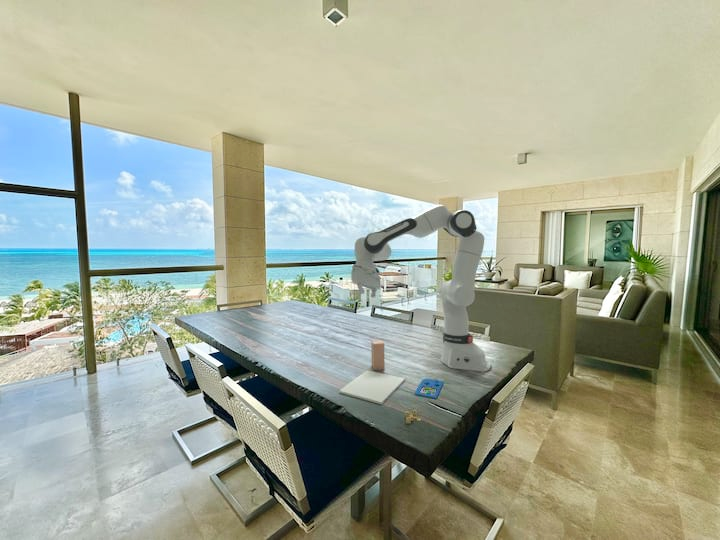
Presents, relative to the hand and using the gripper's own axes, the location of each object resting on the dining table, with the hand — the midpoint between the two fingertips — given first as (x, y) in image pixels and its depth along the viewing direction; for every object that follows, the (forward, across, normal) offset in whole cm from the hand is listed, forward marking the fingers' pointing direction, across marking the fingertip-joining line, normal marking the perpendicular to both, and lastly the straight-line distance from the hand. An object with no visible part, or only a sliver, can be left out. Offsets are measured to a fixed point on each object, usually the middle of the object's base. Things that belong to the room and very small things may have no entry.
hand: (368, 295), depth 139 cm
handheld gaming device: (+43, +4, -22) cm, 48 cm away
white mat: (+40, -8, -3) cm, 41 cm away
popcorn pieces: (+51, -18, -23) cm, 59 cm away
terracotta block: (+32, +9, +4) cm, 33 cm away
